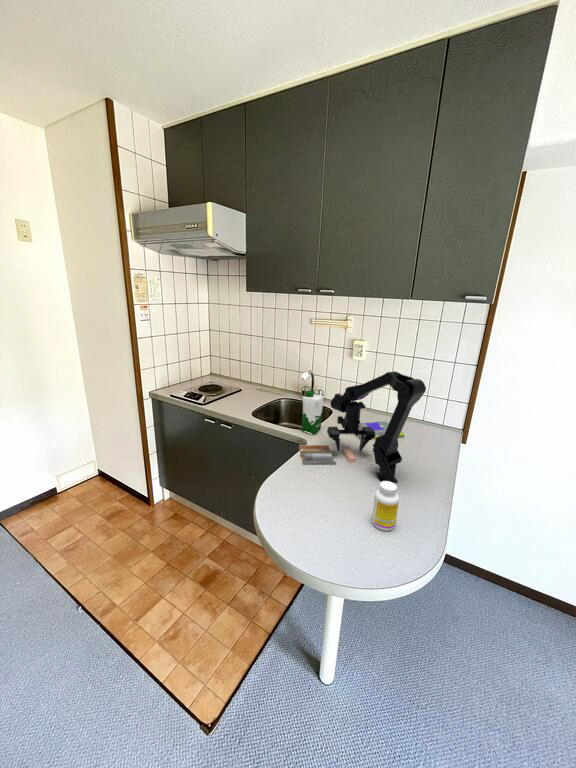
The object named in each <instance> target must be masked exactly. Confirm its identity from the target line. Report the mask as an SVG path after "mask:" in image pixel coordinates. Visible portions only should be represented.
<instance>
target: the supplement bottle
mask: <svg viewBox="0 0 576 768" xmlns="http://www.w3.org/2000/svg"><path fill="white" fill-rule="evenodd" d="M378 487H379V488H378V489H376V491H375V493H374V498H373V499H374V500H373V507H372V515H371V523H372V524H373V525H374V527H376V528H377V529H378V530H381V531H385V532H388V531H392V530H394V529H395V527H396V522H397V515H398V509H399V501H400V497H399V495H398V493H397V490H398V486H397V485H396V484H395V483H392V482H389V481H382V482H380V483H379V486H378Z"/></svg>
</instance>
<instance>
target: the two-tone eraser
mask: <svg viewBox="0 0 576 768" xmlns="http://www.w3.org/2000/svg"><path fill="white" fill-rule="evenodd" d="M342 452H343V454H344V455H345V457H346V460H347V462H348V463H353V464H354V463H356V456H355V455H354V453H353V450H351V447H350V446H349V445H342Z"/></svg>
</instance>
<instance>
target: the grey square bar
mask: <svg viewBox="0 0 576 768" xmlns="http://www.w3.org/2000/svg"><path fill="white" fill-rule="evenodd" d="M332 454H333V453H332ZM332 454H331V453H304V461H332V459H334V455H333V456H332Z"/></svg>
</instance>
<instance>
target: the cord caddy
mask: <svg viewBox="0 0 576 768" xmlns="http://www.w3.org/2000/svg"><path fill="white" fill-rule="evenodd" d="M298 449H299V453H300V458H301V463H302V465H303V466H336V465H337V461H336V460H334V458H333V459H332V461H304V453H331V454H332V456H333V457H334V454H333V452H332V451H331V450H330V445H329V444H299V445H298ZM302 449H303V450H302ZM301 450H302V451H301Z"/></svg>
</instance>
